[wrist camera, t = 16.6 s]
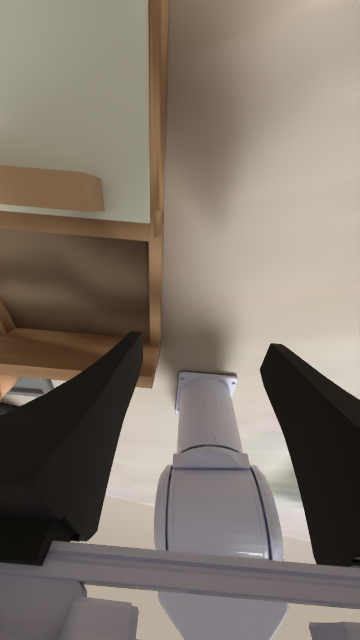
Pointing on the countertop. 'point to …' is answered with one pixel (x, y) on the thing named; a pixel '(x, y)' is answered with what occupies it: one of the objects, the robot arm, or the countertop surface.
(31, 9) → the lid
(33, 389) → the tray
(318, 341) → the countertop surface
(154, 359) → the cold frame
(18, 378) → the pot
